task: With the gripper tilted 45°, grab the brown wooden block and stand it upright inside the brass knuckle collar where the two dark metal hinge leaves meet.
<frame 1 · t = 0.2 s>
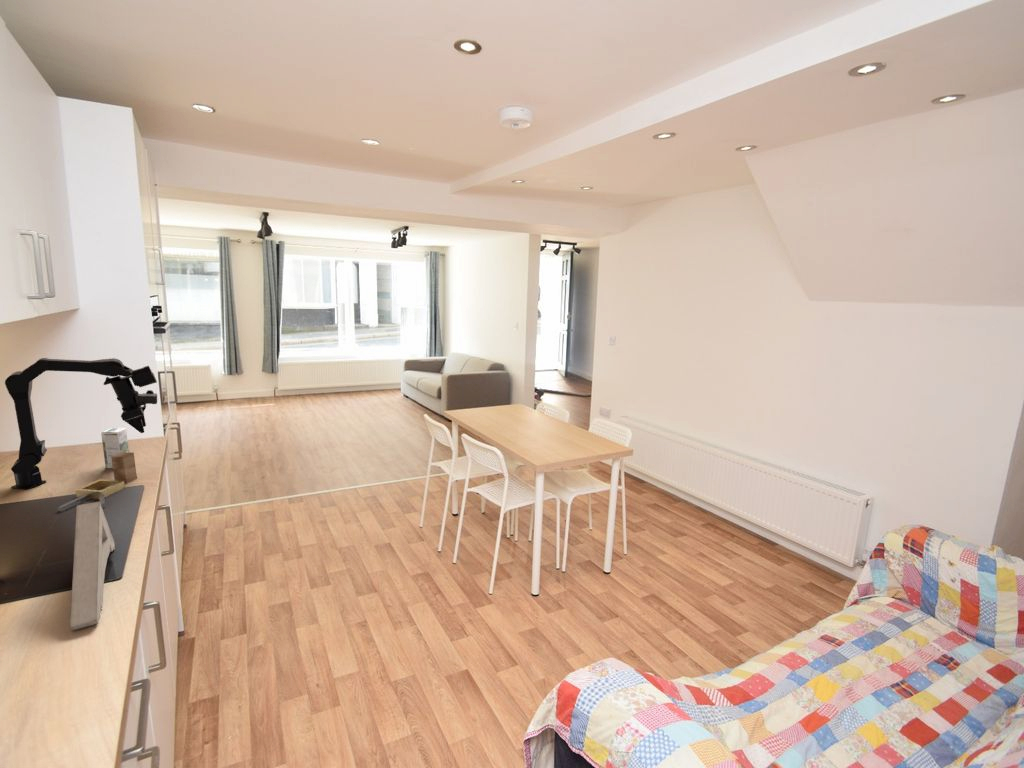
hand: (143, 429, 188), 15 cm above the countertop, tool pointing down, fingers open, 9 cm apart
syrup box: (118, 466, 192), on the countertop
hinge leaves: (101, 492, 170), on the countertop
brown wooden block: (126, 480, 179), on the countertop
wall bracket: (96, 586, 121), on the countertop
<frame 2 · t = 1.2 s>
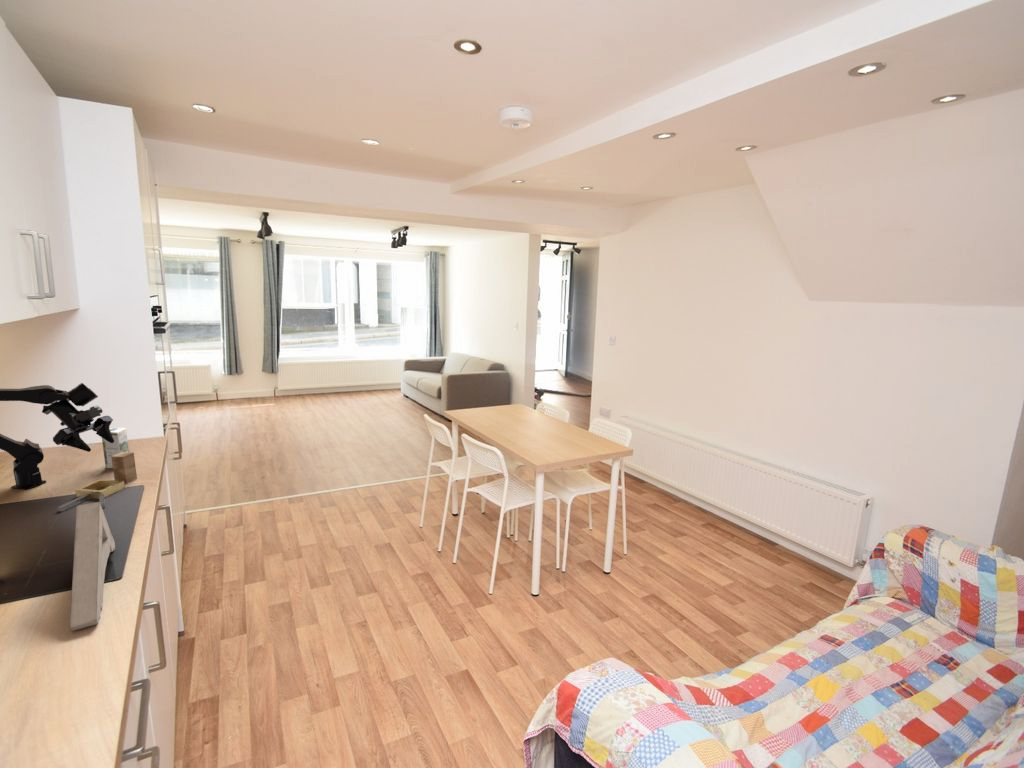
hand: (101, 446, 177), 12 cm above the countertop, tool tilted 45°, fingers open, 9 cm apart
nothing on the countertop moved.
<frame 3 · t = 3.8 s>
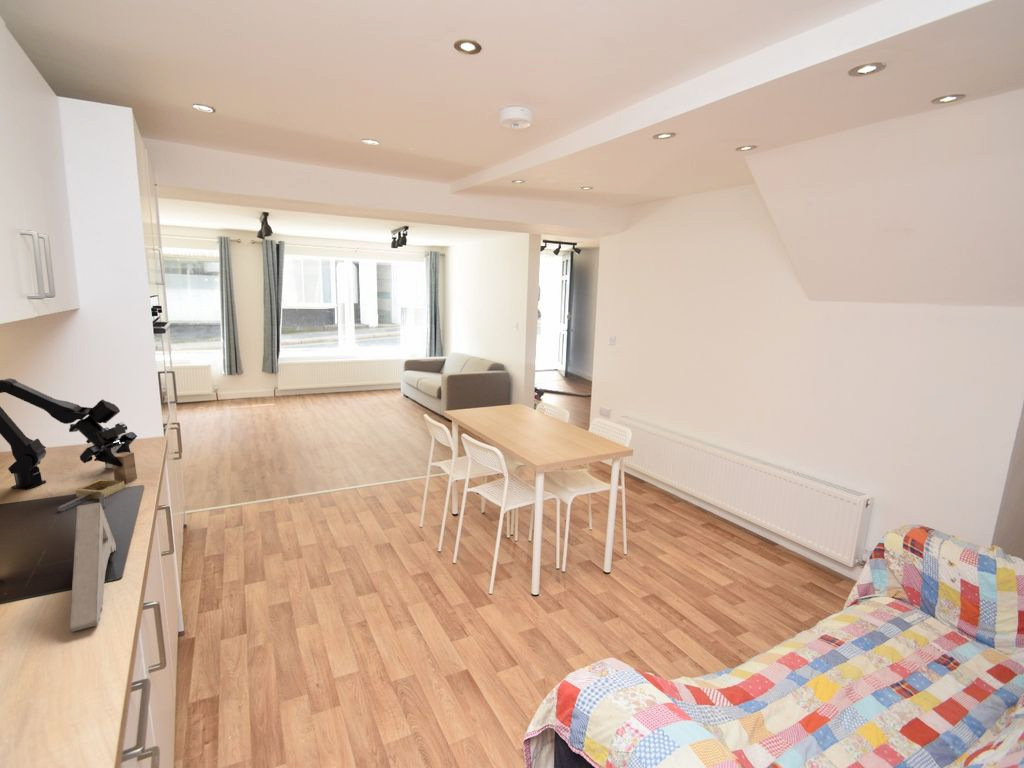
hand: (127, 463, 178), 7 cm above the countertop, tool tilted 45°, fingers closed on brown wooden block, 4 cm apart
brown wooden block: (126, 480, 179), on the countertop, touching gripper
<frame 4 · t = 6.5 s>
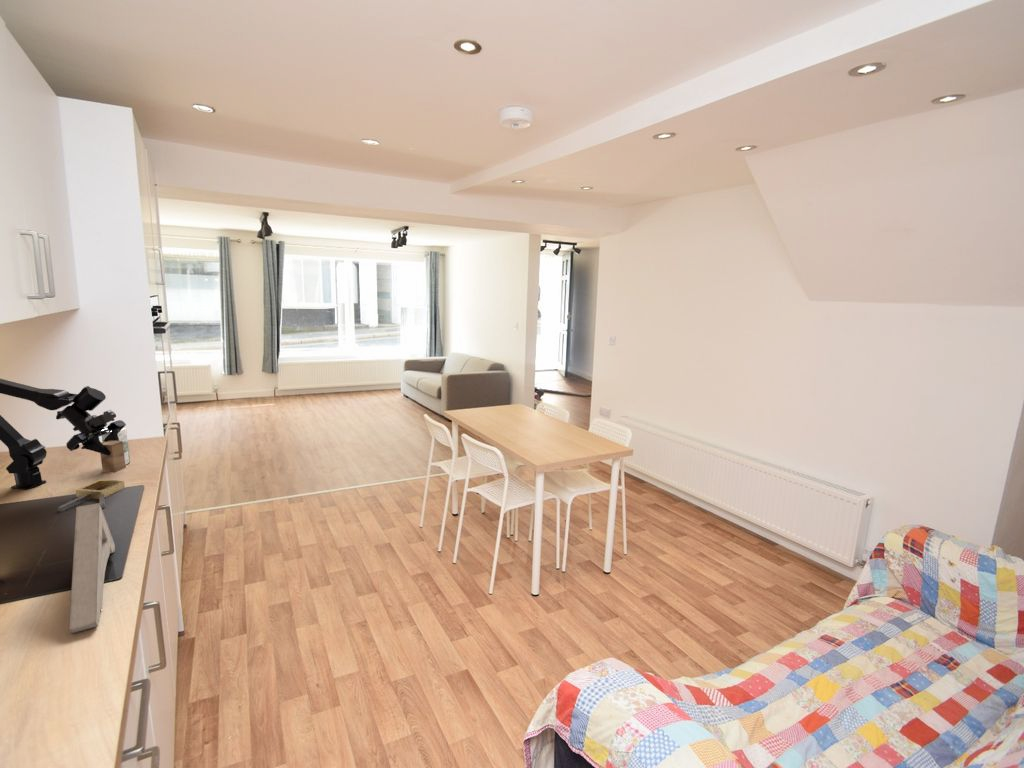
hand: (115, 452, 173), 12 cm above the countertop, tool tilted 45°, fingers closed on brown wooden block, 4 cm apart
brown wooden block: (114, 469, 174), point 6 cm above the countertop, touching gripper
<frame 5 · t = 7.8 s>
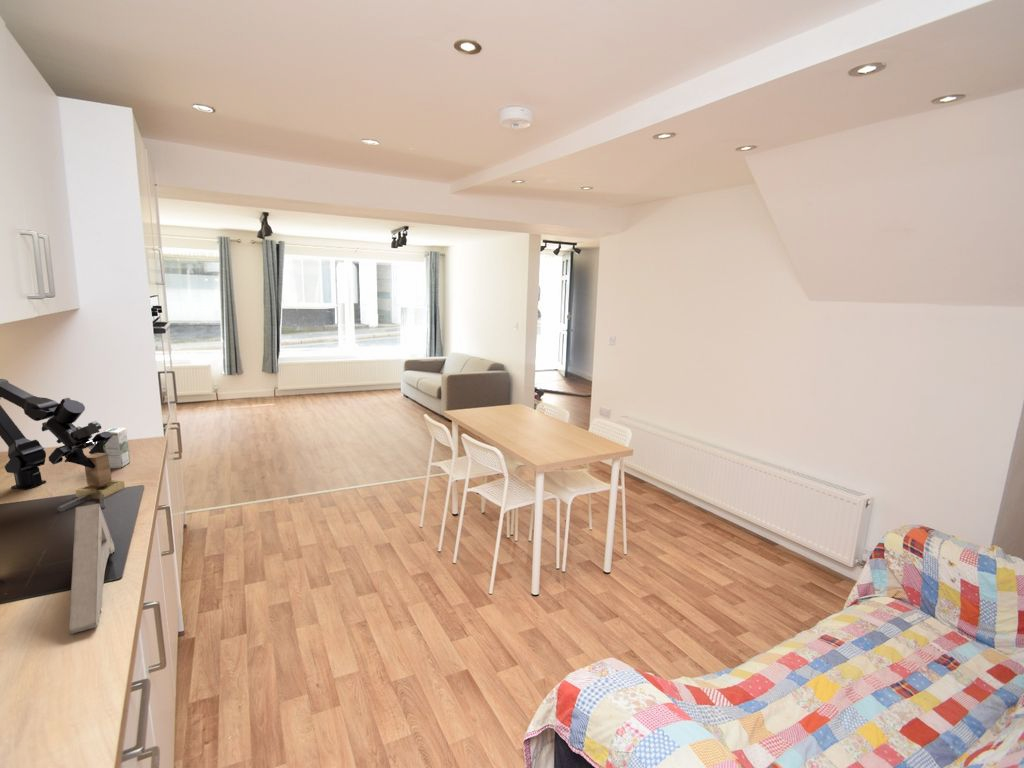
hand: (100, 464, 167), 10 cm above the countertop, tool tilted 45°, fingers closed on brown wooden block, 4 cm apart
brown wooden block: (99, 482, 169), point 3 cm above the countertop, touching gripper
when the fingers open (7 cm above the countertop, at t = 9.1 s): brown wooden block stays where it is, resting in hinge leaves.
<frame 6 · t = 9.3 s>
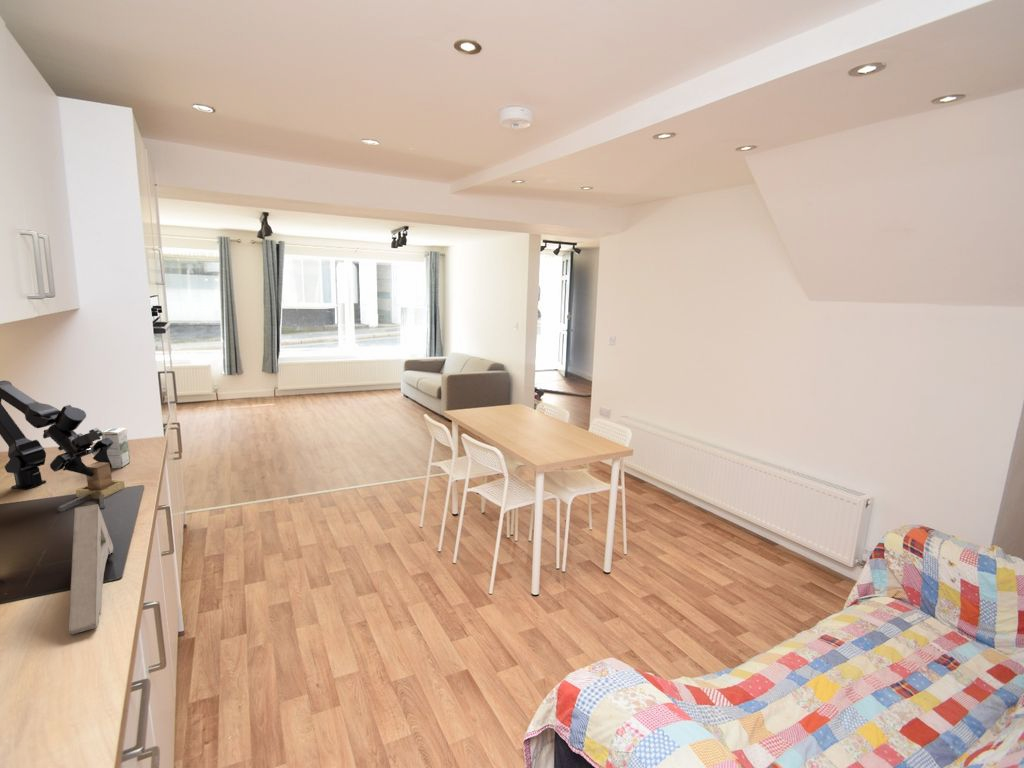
hand: (102, 471, 168), 8 cm above the countertop, tool tilted 45°, fingers open, 7 cm apart
brown wooden block: (101, 492, 170), resting in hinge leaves
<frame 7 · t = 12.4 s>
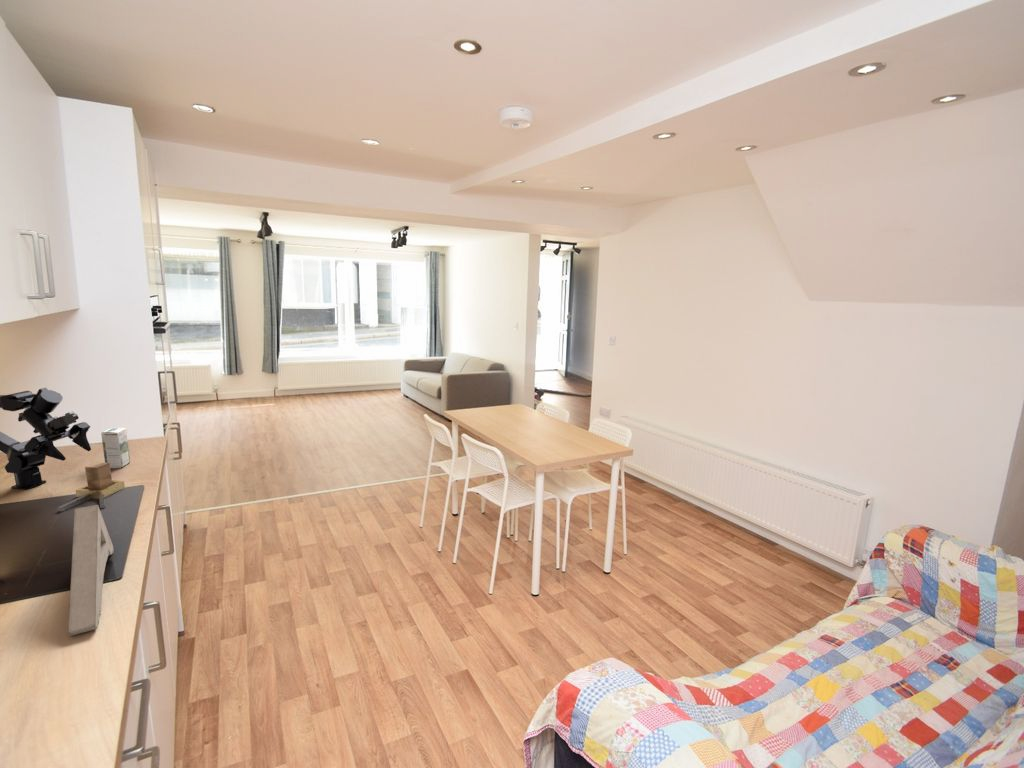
hand: (77, 454, 168), 13 cm above the countertop, tool tilted 45°, fingers open, 9 cm apart
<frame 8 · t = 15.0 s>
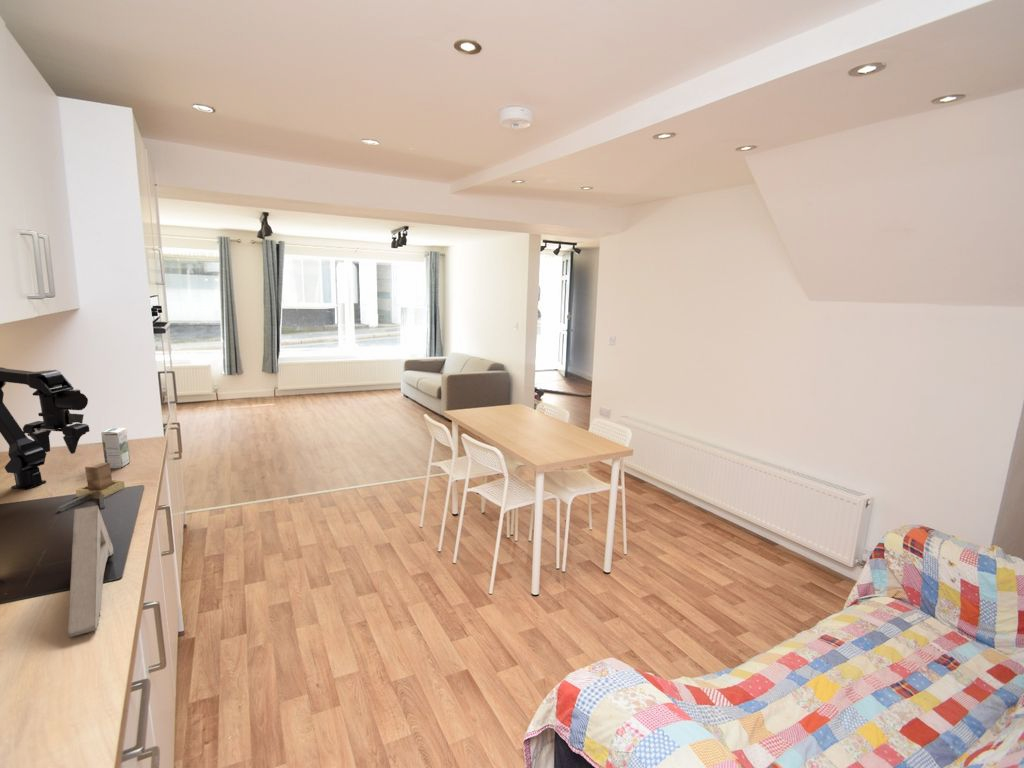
hand: (60, 452, 169), 13 cm above the countertop, tool pointing down, fingers open, 9 cm apart
at the end: brown wooden block 0.0 cm off-centre on the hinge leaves, point 0.0 cm above the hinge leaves's base; brown wooden block tilted 0°; the gripper is holding nothing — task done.
